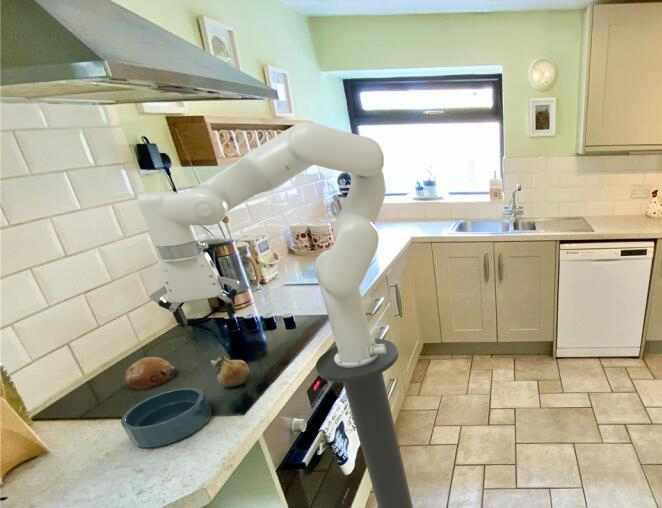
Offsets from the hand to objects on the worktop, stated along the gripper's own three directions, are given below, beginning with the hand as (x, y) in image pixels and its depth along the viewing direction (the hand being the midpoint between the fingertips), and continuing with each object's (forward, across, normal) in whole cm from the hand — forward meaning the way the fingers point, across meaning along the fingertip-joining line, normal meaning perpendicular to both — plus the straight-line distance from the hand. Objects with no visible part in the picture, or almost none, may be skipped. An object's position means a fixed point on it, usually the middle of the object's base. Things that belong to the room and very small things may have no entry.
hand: (209, 320), depth 100 cm
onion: (+18, 0, 0) cm, 18 cm away
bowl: (+18, +10, +13) cm, 25 cm away
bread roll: (+19, +20, -14) cm, 31 cm away
